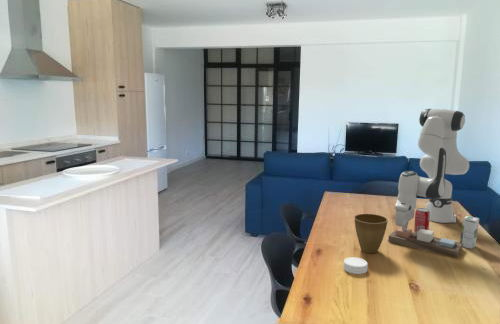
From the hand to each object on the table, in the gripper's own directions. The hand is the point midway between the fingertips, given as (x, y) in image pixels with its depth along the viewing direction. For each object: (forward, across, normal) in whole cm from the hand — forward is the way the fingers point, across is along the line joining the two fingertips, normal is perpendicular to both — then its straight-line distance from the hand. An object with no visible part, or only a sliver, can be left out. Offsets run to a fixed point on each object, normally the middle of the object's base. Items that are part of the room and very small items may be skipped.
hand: (404, 230), depth 191 cm
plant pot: (+6, +23, -9) cm, 26 cm away
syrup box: (+6, -13, +27) cm, 30 cm away
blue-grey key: (+5, 0, +20) cm, 21 cm away
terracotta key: (+4, 0, 0) cm, 4 cm away
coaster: (+6, +46, -6) cm, 47 cm away
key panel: (+6, 0, +10) cm, 11 cm away
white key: (+3, 0, +10) cm, 10 cm away
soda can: (+6, -18, +4) cm, 19 cm away
